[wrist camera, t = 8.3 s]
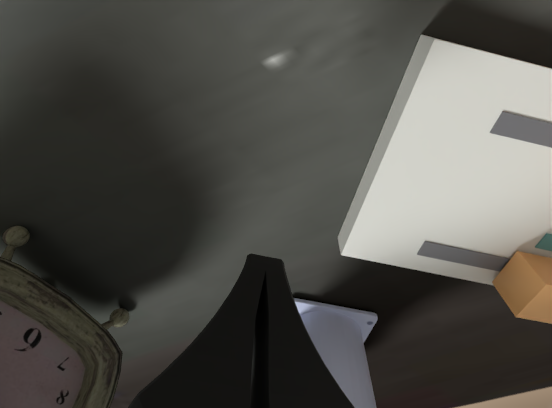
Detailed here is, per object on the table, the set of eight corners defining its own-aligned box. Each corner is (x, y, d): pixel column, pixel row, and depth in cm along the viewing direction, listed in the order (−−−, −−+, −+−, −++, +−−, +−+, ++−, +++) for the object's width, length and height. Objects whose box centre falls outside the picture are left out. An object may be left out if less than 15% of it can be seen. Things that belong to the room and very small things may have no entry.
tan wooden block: (542, 292, 24) (572, 327, 21) (491, 282, 24) (515, 316, 21) (571, 262, 22) (607, 296, 20) (517, 250, 22) (546, 284, 19)
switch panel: (577, 286, 26) (597, 307, 25) (337, 237, 25) (341, 256, 23) (748, 119, 19) (794, 132, 17) (420, 34, 17) (435, 38, 16)
